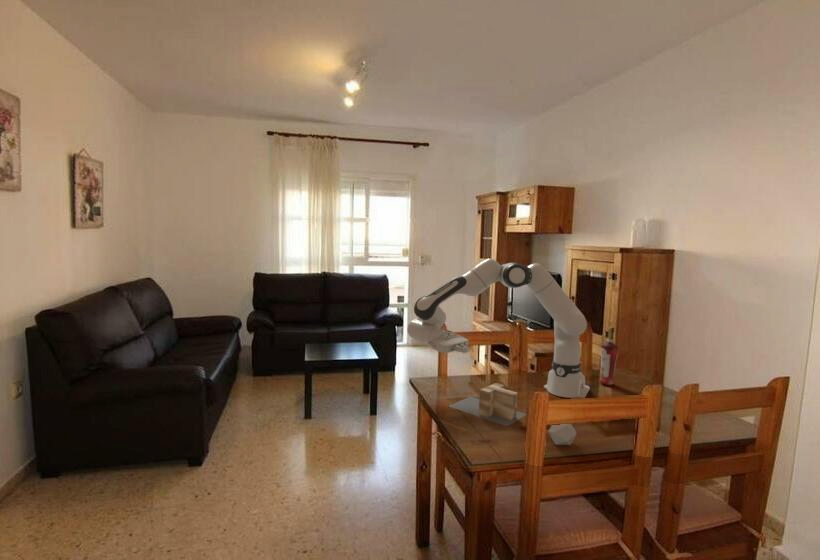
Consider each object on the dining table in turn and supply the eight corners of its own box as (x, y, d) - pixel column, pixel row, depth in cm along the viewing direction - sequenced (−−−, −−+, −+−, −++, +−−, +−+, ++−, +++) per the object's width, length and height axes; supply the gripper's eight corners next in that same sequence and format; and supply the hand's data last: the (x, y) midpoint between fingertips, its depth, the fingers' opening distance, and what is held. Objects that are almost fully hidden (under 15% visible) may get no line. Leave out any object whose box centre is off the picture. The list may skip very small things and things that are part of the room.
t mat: (470, 396, 202) (470, 396, 202) (527, 414, 185) (527, 414, 185) (448, 406, 190) (448, 406, 190) (507, 427, 173) (507, 426, 173)
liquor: (595, 382, 228) (599, 326, 225) (607, 381, 230) (612, 325, 227) (605, 387, 221) (610, 329, 218) (618, 386, 223) (623, 329, 220)
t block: (494, 406, 192) (495, 382, 191) (521, 414, 184) (522, 390, 183) (478, 414, 183) (480, 389, 182) (505, 423, 175) (507, 398, 174)
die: (570, 453, 155) (584, 428, 157) (548, 438, 156) (562, 413, 158) (562, 450, 163) (575, 426, 165) (541, 436, 164) (554, 412, 166)
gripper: (427, 335, 192) (455, 346, 184) (453, 330, 208) (479, 340, 200) (424, 349, 193) (452, 361, 185) (450, 343, 209) (476, 354, 201)
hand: (466, 350), depth 193 cm, fingers closed
